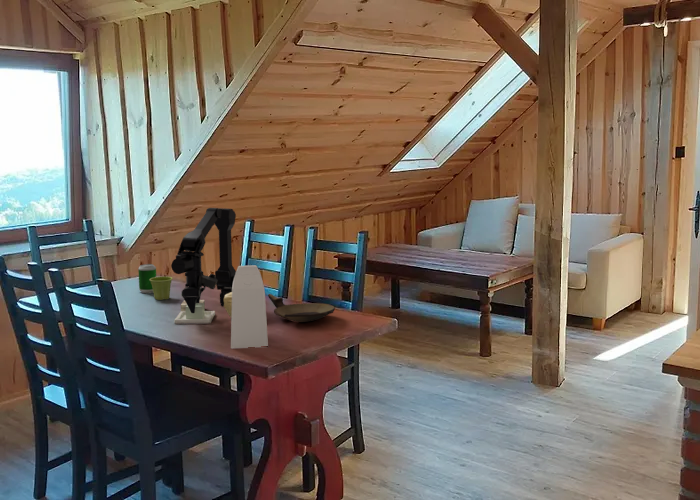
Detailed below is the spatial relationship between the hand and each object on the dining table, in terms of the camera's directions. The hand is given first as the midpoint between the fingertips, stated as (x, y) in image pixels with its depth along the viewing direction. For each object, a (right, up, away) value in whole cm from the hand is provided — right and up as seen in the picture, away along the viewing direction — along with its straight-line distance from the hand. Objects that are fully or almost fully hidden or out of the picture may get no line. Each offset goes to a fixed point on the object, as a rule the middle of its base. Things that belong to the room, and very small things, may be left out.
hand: (195, 310), depth 260 cm
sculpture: (+17, -3, +3) cm, 18 cm away
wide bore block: (-4, -2, +13) cm, 14 cm away
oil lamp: (+40, -4, +2) cm, 40 cm away
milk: (+25, -8, -30) cm, 40 cm away
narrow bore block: (0, -3, 0) cm, 3 cm away
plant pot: (-22, +2, +35) cm, 41 cm away
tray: (0, -3, 0) cm, 4 cm away
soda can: (-32, +4, +48) cm, 58 cm away
